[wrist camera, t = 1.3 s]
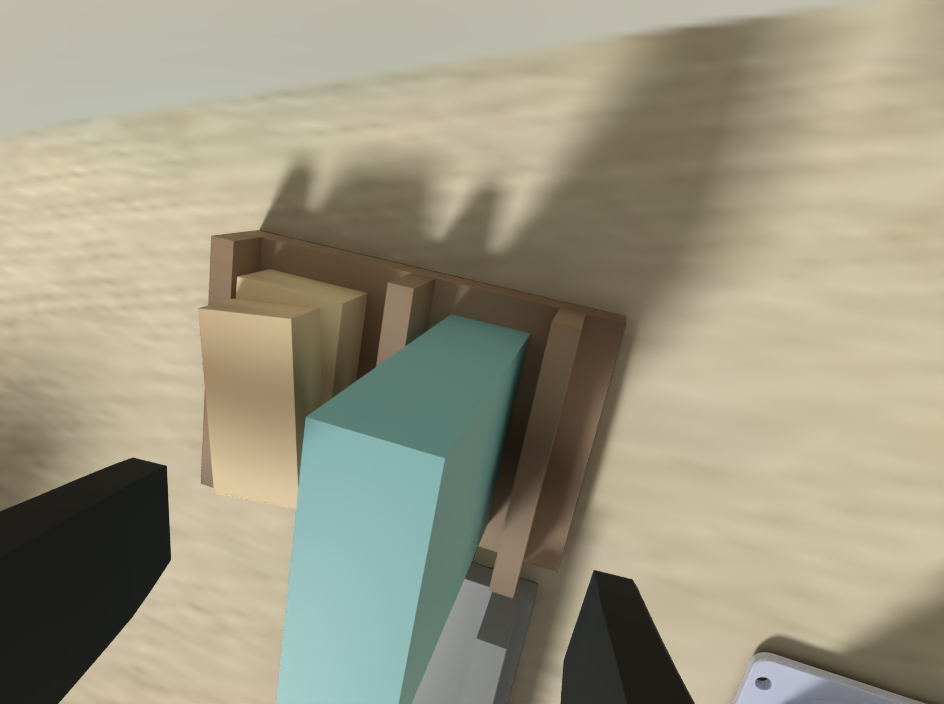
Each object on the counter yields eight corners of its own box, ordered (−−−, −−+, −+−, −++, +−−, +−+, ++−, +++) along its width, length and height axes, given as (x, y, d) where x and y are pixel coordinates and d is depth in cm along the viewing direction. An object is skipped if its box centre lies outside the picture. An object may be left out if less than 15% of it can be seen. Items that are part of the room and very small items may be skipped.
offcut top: (324, 485, 20) (299, 509, 18) (244, 470, 20) (214, 493, 19) (319, 307, 18) (290, 318, 16) (233, 298, 19) (197, 308, 17)
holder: (491, 759, 25) (470, 847, 21) (339, 699, 26) (296, 773, 23) (538, 584, 22) (521, 654, 18) (364, 527, 23) (320, 583, 20)
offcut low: (343, 478, 21) (319, 503, 20) (256, 450, 22) (225, 472, 20) (367, 293, 19) (342, 303, 18) (270, 269, 20) (237, 276, 18)
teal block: (487, 523, 20) (388, 758, 12) (417, 501, 21) (275, 712, 13) (530, 333, 18) (445, 458, 10) (451, 313, 19) (305, 416, 10)
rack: (560, 555, 21) (550, 610, 18) (243, 454, 24) (191, 490, 21) (626, 316, 18) (625, 339, 16) (258, 230, 21) (200, 237, 18)
